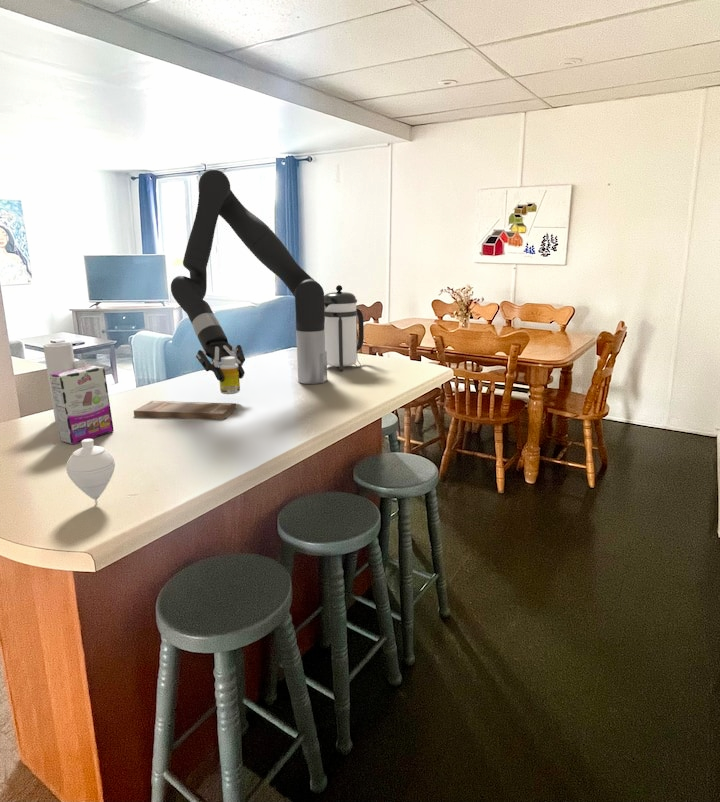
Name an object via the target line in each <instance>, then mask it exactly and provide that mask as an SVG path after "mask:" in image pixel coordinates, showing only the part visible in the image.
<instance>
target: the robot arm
mask: <svg viewBox="0 0 720 802" xmlns="http://www.w3.org/2000/svg"><path fill="white" fill-rule="evenodd" d="M219 216H220V217H221V218H222V219H223V220H224V221H225V222H226V223H227V224H228V225H229V226H230V228H231V229H232V230H233V232H234V233H235V234H236V235H237V237H238V238H239V240H240V241H242V243H243V244H244V245H245V247H247V249H248V250H249V251H250V252H251V253H252V254H253V255H254V257H255V258H256V259H257V260H258V261H260V263H261V264H263V265H264V266H265V267H266V268H267V269H268V270H269V271H270V272H272V273H273V274H274V275H276V276H277V277H278V278H279V279H280V280H281V281H282V282H283V283H284V284H285V286H286V287H287V289H288V290H289V291H290V293H291V294H292V295H293V297H294V305H295V329H296V330H295V331H296V335H295V336H296V361H297V380H298V382H299V383H300V384H306V385H313V384H314V385H315V384H317V385H318V384H325V382H326V381H327V380H328V365H327V352H326V351H325V333H324V323H325V303H324V296H325V291H324V288H323V287H322V286H321V284H320V283H319V282H318V281H316V280H315V279H314V278H313V277H311V276H310V274H308V273H307V272H306V271H305V270H304V269H303V268H302V267H301V266H300V265H299V264H298V263H297V261H296V260H295V259H294V257H293V256H292V254H291V253H290V251H289V250H288V248H287V247H286V246H285V244H284V243H283V242H282V240H281V239H280V238H279V237H278V236H277V234H276V233H274V231H273V230H272V229H271V227H269V225H267V224H266V223H265V222H264V221H263V220H262V219H260V218H259V217H257V216H256V215H255V214H253V212H251V211H250V210H248V209H247V208H246V207H245V205H244V204H242V202H241V201H240V200H239V198H237V196H236V195H235V194H234V193H233V191H232V190H231V183H230V180H229V178H228V175H226V174H225V173H224V172H223V171H221V170H220V169H213V168H211V169H208V170H206V171H205V172H203V173H202V175H200V177H199V180H198V202H197V208H196V213H195V217H194V221H193V223H192V224H193V225H192V228H191V231H190V234H189V237H188V241H187V245H186V248H185V252H184V257H183V260H182V265H183V267H184V268H185V269H186V270H188V271H189V277H188V276H185V275H178V276H175V277H174V278H173V279H172V281H171V283H170V292H171V295H172V296H173V298H174V300H175V301H176V302H177V304H178V305H179V307H180V308H181V309H182V311H184V312H185V313H186V315H187V317H188V320H189V321H190V323H191V325H192V328H193V331H194V333H195V336H196V337H197V339H198V341H199V343H200V345H201V347H202V349H203V350H201V349H198V351H197V352H196V356H195V358H196V359H197V361H198V362H199V363H200V365H201V366H202V367H203V370H205V371H206V372H209V371H211V372H213V374H214V376H215V378H216V379H217V381H219V383H220V382H223V381H224V379H225V377H224V375H223V373H222V371H221V369H220V367H219V363H221V358H222V357H227V356H232V357H235V363H236V364H238V367H239V380H241V379H243V378H244V376H245V374H246V373H245V370H244V368H243V365H244V363H245V361H246V358H245V355H244V351H243V348H242V346H241V345H240V344H237V345H236V346H232V345H231V344H230V343H229V341H228V337H227V336H226V333H225V331H224V330H223V328H222V326H221V324H220V321H219V320H218V319H217V317H216V316H215V314H214V312H213V310H212V308H211V306H210V304H209V303H208V302H207V301H206V300H204V298H205V296H206V294H207V288H208V286H207V285H208V284H207V283H208V280H207V279H208V278H207V277H208V275H207V274H208V273H207V269H208V263H209V260H210V255H211V252H212V247H213V243H214V237H215V232H216V226H217V223H218V219H219ZM208 358H209V359H211V362H210V360H209V359H208Z"/></svg>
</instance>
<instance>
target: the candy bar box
mask: <svg viewBox="0 0 720 802" xmlns="http://www.w3.org/2000/svg"><path fill="white" fill-rule="evenodd" d="M106 377H107V376H106V371H105V367H104V366H98V365H96V364H95V365H89V366H86V367H83V368H78V369H74V370H69V371H64V372H59V373H55V374H50V381H51V386H52V392H53V398H54V403H55V409H56V415H57V420H58V423H57V425H58V430H59V436H60V442H62V443H66V444H70V445H75V444H79V443H81V441H82V440H84V439H94V438H97V437H101V436H103V435H104V436H105V435H106V434H107V435H108V434H110V433H113V432H114V429H115V428H114V423H113V417H112V410H111V403H110V399H109V389H108V384H107V378H106Z"/></svg>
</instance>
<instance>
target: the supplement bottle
mask: <svg viewBox="0 0 720 802" xmlns="http://www.w3.org/2000/svg"><path fill="white" fill-rule="evenodd" d="M219 367H220V369H221V371H222V373H223V375H224V377H225V379H224V381H223V382H220V381H219V390H220V393H221V394H223V395H235V394H238V393H240V391H241V384H240V378H239V367H238V364H236V363H235V357H232V356H227V357H222V358H221V362H220V364H218V368H219Z"/></svg>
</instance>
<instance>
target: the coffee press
mask: <svg viewBox="0 0 720 802" xmlns="http://www.w3.org/2000/svg"><path fill="white" fill-rule="evenodd" d="M335 289H336V292H335V291H333V292H328V293H325V294H324V303H325V323H324V333H325V351H326V352H327V366H331V367H338V368H339V370H340V371H339V370H338V371H339V372H344V367H349V366H353V365H354V366H356V367H357V366H358V365H357V364H356V363H357V362H358V364H359V366H360V367H361V366H362V365H361V364H362V363H360V361H359V360H358V359H359V358H358V351H359V350H361V349H362V346H363V344H364V339H365V338H364V336H365V335H364V330H365V327H364V326H365V325H364V315H363V313H362V310H360V309H359V308H357V303H358V299H357V297H356V296H355V294H353V293H351V292H347V291H345V292H344V291H343V292H342V290H343V287H342V285H341V284H338V285H337V286H336V288H335ZM357 330H358V335H357Z"/></svg>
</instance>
